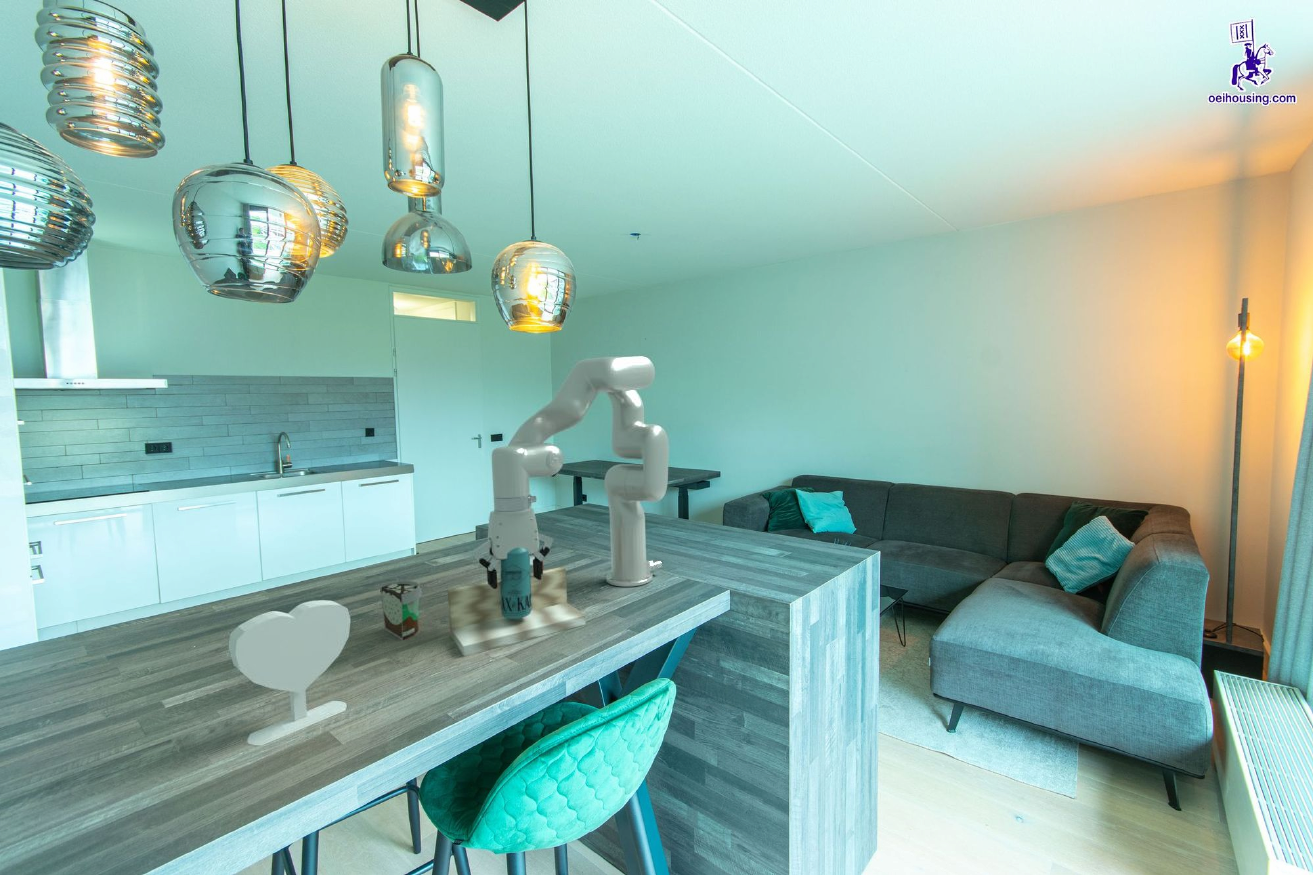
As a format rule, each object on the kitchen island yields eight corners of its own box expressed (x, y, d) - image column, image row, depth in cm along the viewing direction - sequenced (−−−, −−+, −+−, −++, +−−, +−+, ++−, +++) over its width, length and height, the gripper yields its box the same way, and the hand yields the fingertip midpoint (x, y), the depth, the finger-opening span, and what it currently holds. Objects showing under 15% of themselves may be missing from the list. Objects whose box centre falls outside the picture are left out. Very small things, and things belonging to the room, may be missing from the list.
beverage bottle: (499, 617, 123) (495, 527, 121) (529, 612, 125) (526, 524, 124) (503, 628, 117) (500, 533, 115) (535, 622, 119) (532, 530, 118)
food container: (434, 632, 121) (431, 587, 120) (405, 642, 116) (402, 595, 116) (409, 618, 129) (407, 576, 129) (382, 627, 125) (379, 583, 124)
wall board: (564, 608, 133) (562, 566, 132) (585, 624, 123) (583, 579, 122) (450, 635, 119) (447, 589, 118) (463, 656, 109) (461, 606, 108)
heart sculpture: (345, 695, 95) (338, 592, 94) (358, 705, 92) (351, 598, 91) (234, 739, 83) (224, 621, 82) (244, 752, 80) (234, 629, 79)
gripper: (544, 497, 127) (547, 571, 128) (466, 506, 118) (470, 586, 119) (557, 501, 121) (560, 579, 122) (475, 512, 112) (480, 596, 113)
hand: (516, 582), depth 121 cm, fingers open, 9 cm apart
